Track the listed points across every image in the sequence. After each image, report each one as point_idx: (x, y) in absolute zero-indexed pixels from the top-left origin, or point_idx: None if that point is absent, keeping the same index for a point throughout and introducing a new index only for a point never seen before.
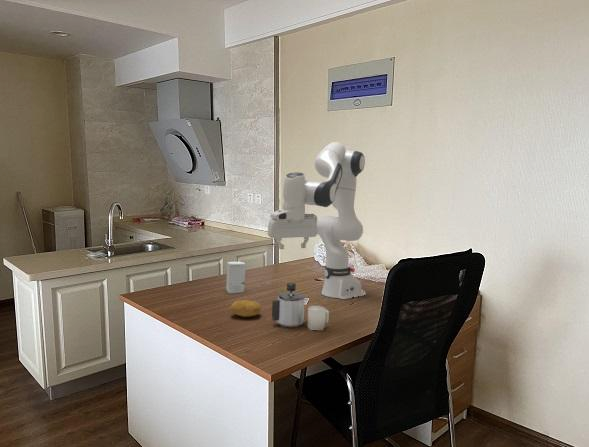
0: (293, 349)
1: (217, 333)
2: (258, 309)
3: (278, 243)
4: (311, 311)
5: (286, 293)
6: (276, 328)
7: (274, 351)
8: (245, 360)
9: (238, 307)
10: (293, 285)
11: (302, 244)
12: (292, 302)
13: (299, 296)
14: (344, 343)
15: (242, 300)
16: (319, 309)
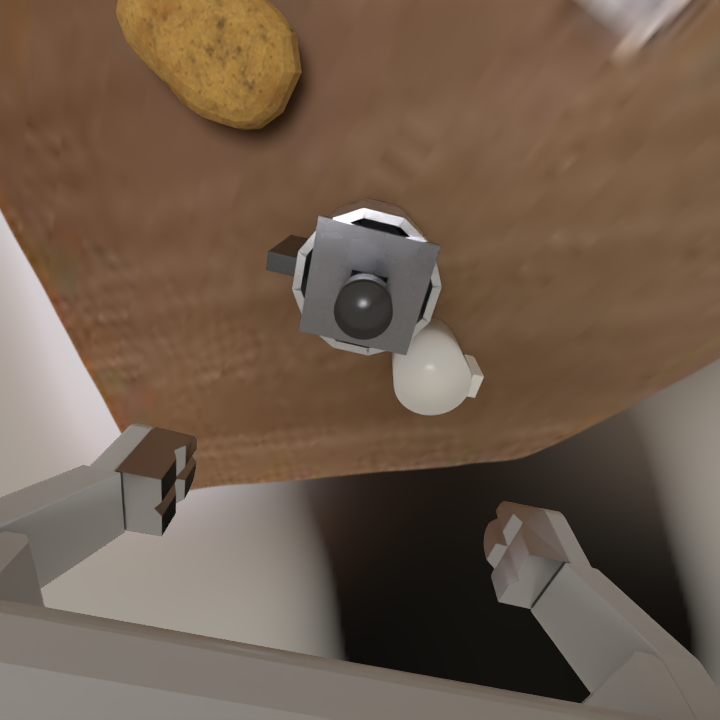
0: (260, 430)
1: (60, 202)
2: (261, 124)
3: (64, 478)
4: (394, 388)
5: (360, 253)
6: (292, 277)
7: (206, 415)
8: (115, 419)
9: (149, 64)
10: (359, 338)
11: (499, 587)
12: (333, 344)
13: (390, 334)
14: (410, 468)
15: (175, 4)
16: (432, 397)
